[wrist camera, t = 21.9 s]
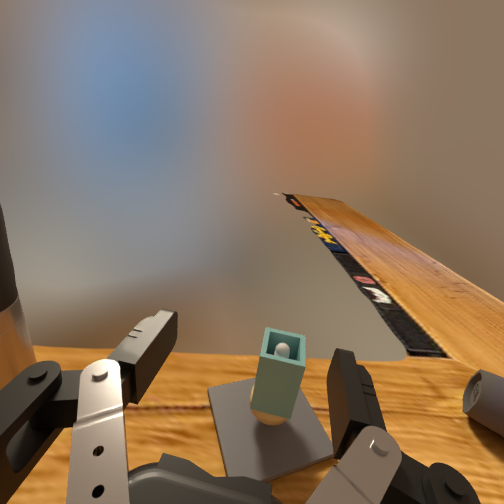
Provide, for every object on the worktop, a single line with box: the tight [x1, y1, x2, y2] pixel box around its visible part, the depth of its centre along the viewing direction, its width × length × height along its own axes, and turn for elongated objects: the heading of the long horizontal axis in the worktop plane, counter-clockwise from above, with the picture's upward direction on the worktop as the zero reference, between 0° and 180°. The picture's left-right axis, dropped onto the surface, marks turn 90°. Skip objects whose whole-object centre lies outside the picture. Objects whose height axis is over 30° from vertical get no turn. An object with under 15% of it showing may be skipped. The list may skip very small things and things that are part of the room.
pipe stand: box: [207, 343, 334, 482], centre depth 39 cm, size 16×15×16 cm
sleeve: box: [250, 327, 306, 419], centre depth 38 cm, size 6×6×10 cm
